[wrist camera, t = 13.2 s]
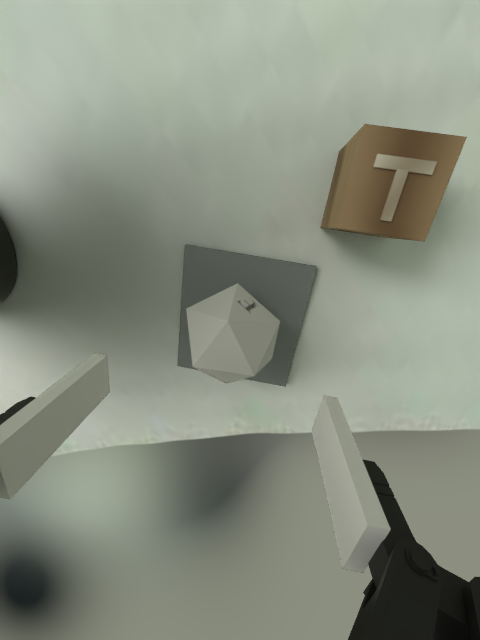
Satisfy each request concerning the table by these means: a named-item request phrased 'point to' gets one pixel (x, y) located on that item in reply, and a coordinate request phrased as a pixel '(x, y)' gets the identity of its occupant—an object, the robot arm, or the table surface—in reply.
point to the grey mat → (260, 282)
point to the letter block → (390, 182)
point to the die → (231, 335)
